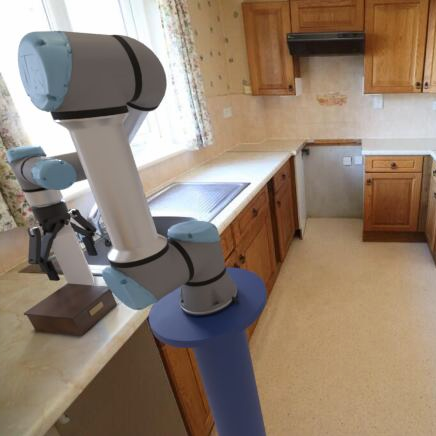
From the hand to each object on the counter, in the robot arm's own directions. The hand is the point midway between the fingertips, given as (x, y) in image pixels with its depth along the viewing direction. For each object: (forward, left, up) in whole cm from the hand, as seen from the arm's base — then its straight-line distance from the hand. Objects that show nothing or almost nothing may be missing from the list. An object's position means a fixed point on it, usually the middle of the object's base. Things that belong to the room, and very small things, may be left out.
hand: (75, 266), depth 98 cm
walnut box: (-11, +13, -7) cm, 18 cm away
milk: (0, 0, -7) cm, 7 cm away
